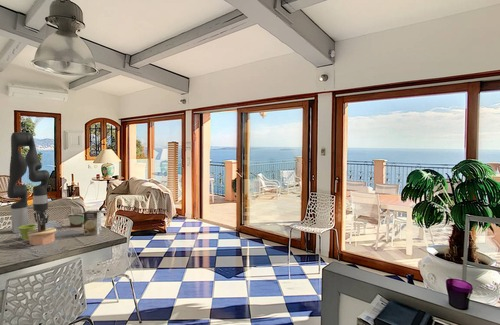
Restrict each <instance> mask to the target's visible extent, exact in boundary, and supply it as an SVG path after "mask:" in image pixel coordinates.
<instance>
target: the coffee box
mask: <svg viewBox="0 0 500 325" xmlns="http://www.w3.org/2000/svg"><path fill="white" fill-rule="evenodd" d="M101 212H102V211H101V210H86V211H84V212H83V213H84V226H83V232H84V233H83V236H98V235H100V234H102V213H101Z"/></svg>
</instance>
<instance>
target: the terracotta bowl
mask: <svg viewBox="0 0 500 325" xmlns="http://www.w3.org/2000/svg"><path fill="white" fill-rule="evenodd" d="M55 233H56V232H54V233H52V234H48V235H43V236H29V242H28V244H29V245H32V246H43V245H47V244H50V243H51V244H52V243H53V242H54V241H55V240H56V239H55Z"/></svg>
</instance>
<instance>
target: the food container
mask: <svg viewBox="0 0 500 325" xmlns="http://www.w3.org/2000/svg"><path fill="white" fill-rule="evenodd" d="M67 216H68V220H69V227H70V228H71V227H72V228H84V212H75V213H69V214H68V215H67Z"/></svg>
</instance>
